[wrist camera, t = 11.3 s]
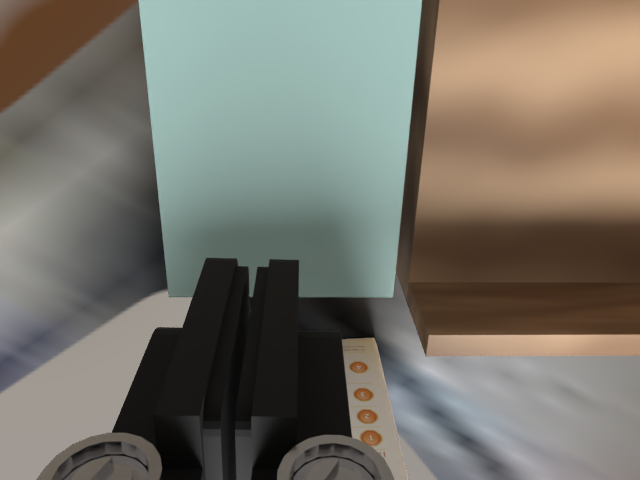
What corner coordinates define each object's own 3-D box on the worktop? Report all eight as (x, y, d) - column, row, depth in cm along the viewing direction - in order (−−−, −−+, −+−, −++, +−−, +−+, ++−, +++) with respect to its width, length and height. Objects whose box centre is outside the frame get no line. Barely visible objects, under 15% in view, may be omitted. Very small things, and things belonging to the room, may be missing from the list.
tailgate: (422, -103, 24) (139, -114, 23) (432, -110, 22) (126, -122, 22) (387, 279, 32) (175, 278, 31) (393, 297, 30) (168, 296, 30)
